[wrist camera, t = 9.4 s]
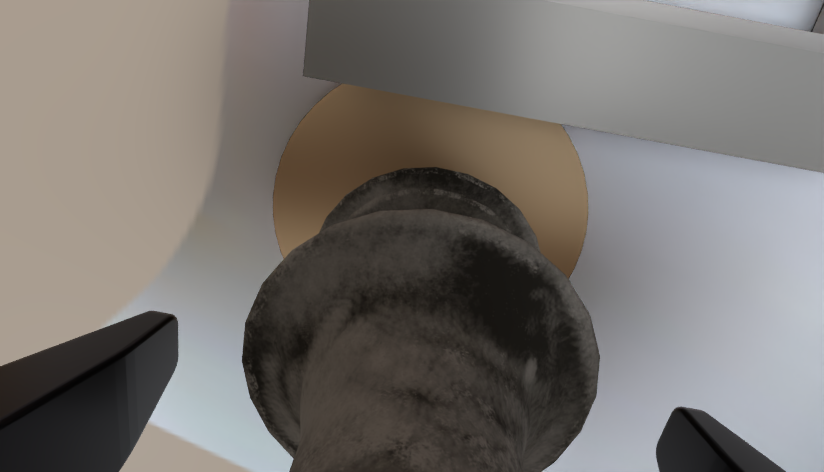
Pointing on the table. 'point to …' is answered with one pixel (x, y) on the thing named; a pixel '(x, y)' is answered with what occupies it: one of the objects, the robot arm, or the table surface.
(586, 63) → the breaker guard
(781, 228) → the table surface
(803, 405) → the table surface
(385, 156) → the coaster
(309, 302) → the salt shaker
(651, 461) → the table surface
